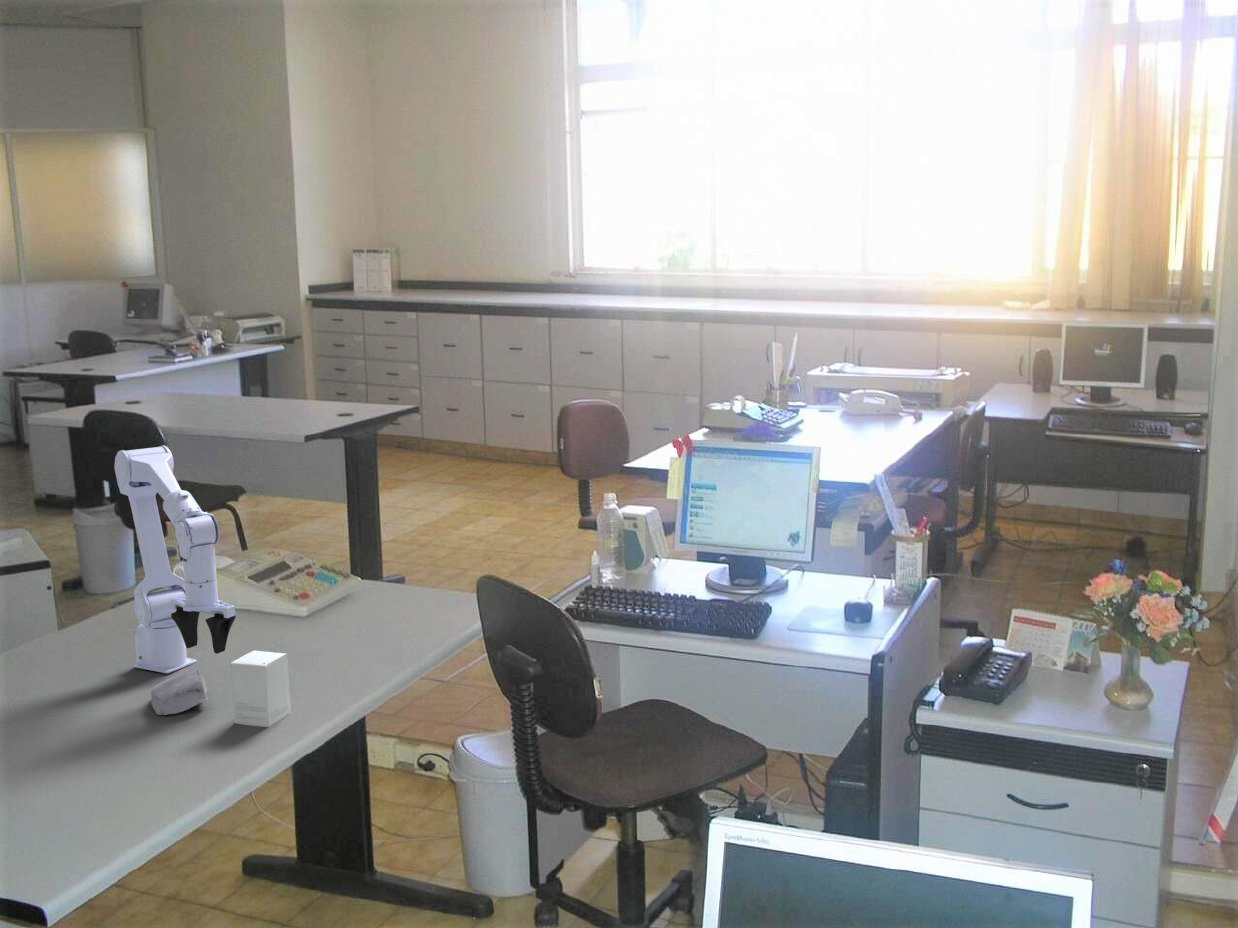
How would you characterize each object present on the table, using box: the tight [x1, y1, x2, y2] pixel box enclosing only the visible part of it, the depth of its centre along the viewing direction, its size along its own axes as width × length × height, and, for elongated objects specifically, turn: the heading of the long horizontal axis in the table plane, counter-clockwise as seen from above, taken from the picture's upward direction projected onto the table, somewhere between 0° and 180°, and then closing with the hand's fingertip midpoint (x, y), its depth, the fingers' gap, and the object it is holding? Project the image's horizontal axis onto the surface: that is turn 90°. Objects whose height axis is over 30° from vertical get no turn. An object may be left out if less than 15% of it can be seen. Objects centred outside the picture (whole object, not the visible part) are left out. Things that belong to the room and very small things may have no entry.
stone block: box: [150, 669, 208, 716], centre depth 232 cm, size 12×5×10 cm
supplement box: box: [230, 650, 292, 728], centre depth 225 cm, size 7×7×13 cm
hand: (205, 649), depth 237 cm, fingers open, 7 cm apart
